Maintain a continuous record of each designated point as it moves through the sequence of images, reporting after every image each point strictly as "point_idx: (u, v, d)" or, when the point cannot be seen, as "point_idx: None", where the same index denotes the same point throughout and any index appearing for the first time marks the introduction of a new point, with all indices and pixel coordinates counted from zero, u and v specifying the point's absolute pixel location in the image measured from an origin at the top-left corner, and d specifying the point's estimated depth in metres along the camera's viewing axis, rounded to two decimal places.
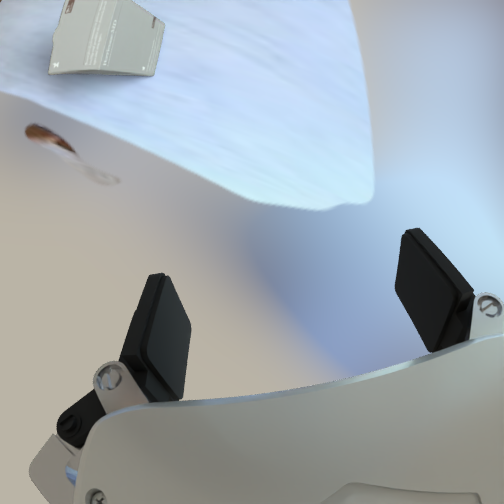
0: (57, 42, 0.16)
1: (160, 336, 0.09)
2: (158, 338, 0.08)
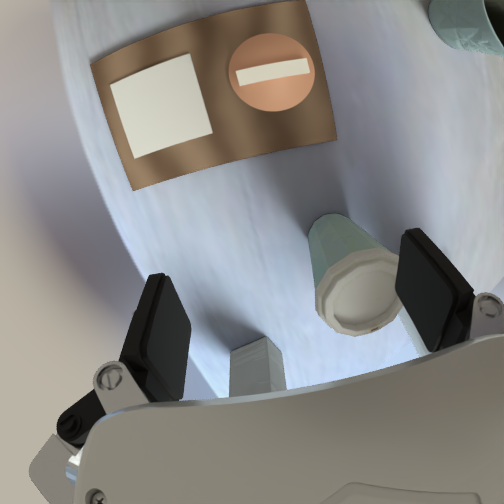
0: None
1: (160, 336, 0.09)
2: (158, 338, 0.08)
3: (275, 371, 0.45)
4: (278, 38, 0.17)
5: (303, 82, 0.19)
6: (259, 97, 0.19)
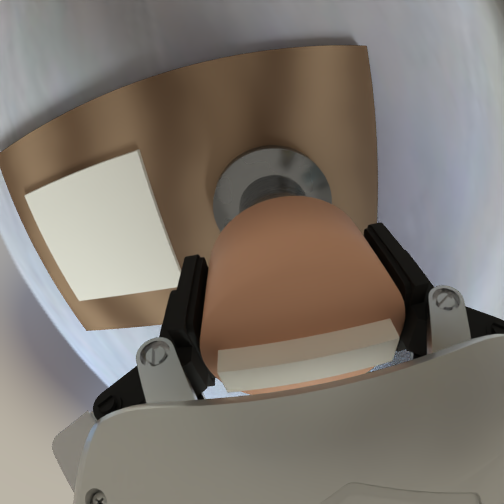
0: None
1: (201, 313, 0.09)
2: (200, 314, 0.09)
3: None
4: (345, 276, 0.07)
5: None
6: None
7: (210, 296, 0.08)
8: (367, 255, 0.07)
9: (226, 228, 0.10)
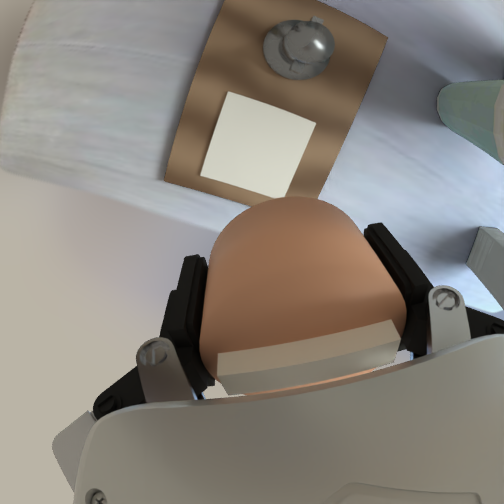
0: None
1: (201, 313, 0.09)
2: (200, 315, 0.09)
3: None
4: (345, 278, 0.07)
5: None
6: None
7: (209, 299, 0.08)
8: (367, 256, 0.07)
9: (225, 230, 0.10)
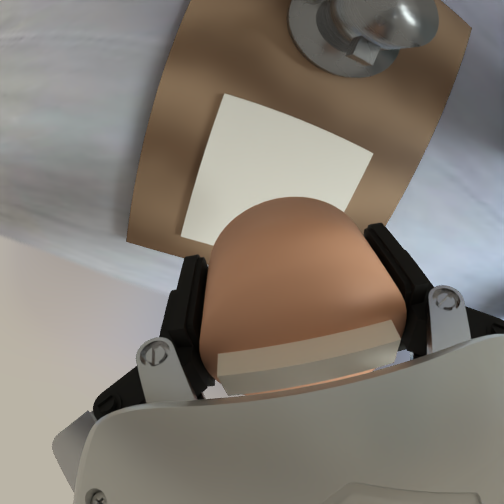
0: None
1: (201, 313, 0.09)
2: (200, 314, 0.09)
3: None
4: (345, 279, 0.07)
5: None
6: None
7: (209, 300, 0.08)
8: (367, 256, 0.07)
9: (225, 230, 0.10)
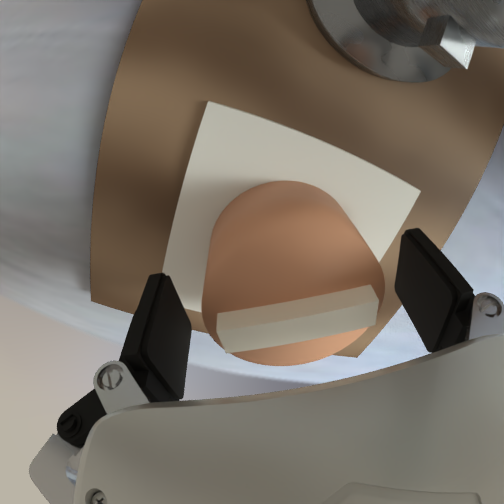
0: None
1: (160, 336, 0.09)
2: (158, 338, 0.08)
3: None
4: (325, 242, 0.08)
5: None
6: (264, 350, 0.11)
7: (210, 264, 0.09)
8: (346, 226, 0.09)
9: (225, 210, 0.11)
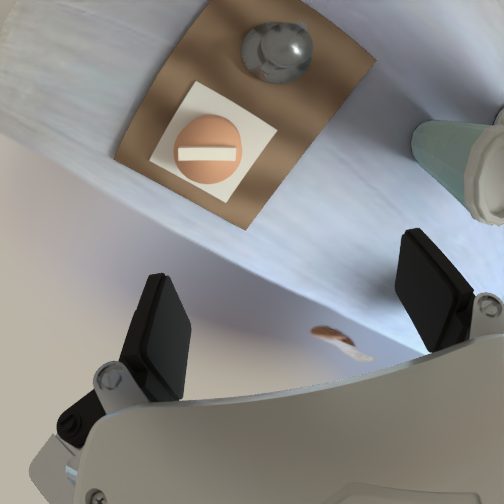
0: None
1: (160, 336, 0.09)
2: (158, 338, 0.08)
3: None
4: (220, 125, 0.24)
5: (229, 165, 0.26)
6: (192, 170, 0.26)
7: None
8: (229, 124, 0.25)
9: (191, 121, 0.27)
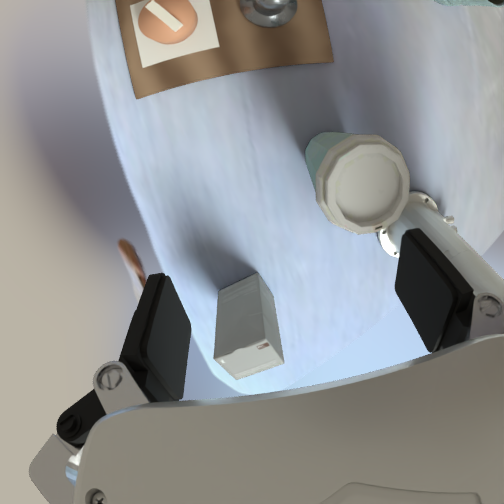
0: (235, 354, 0.37)
1: (160, 336, 0.09)
2: (158, 338, 0.08)
3: (267, 306, 0.44)
4: (188, 6, 0.22)
5: (168, 33, 0.24)
6: (145, 20, 0.22)
7: None
8: (193, 12, 0.23)
9: None
